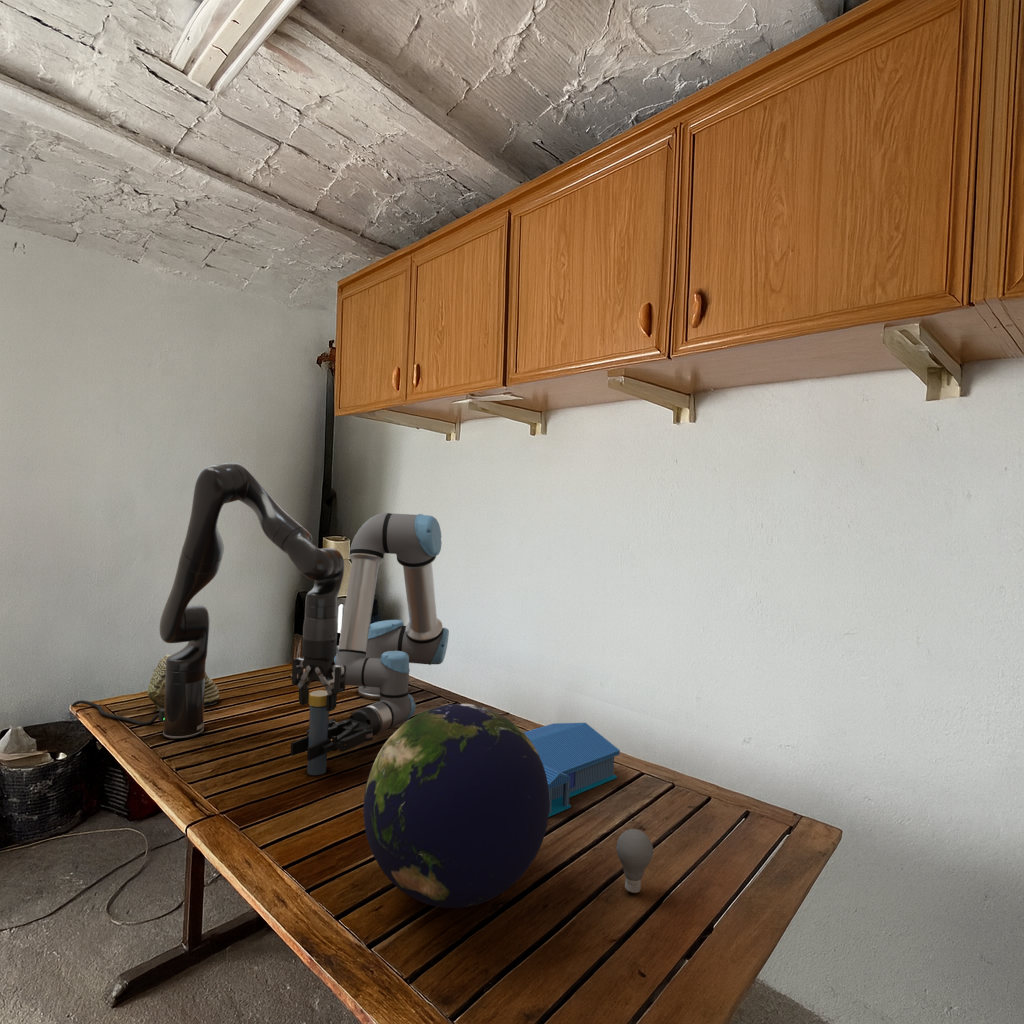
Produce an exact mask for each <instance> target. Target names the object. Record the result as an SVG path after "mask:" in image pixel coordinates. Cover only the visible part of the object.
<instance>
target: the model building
mask: <svg viewBox="0 0 1024 1024" xmlns="http://www.w3.org/2000/svg"><path fill="white" fill-rule="evenodd" d="M523 733H524V734H525V735H526V736H527V737H528V738H529V739H530V741H531V742H532V744H533V745H534V747H535V749H536V750H537V752H538V754H539V756H540V759H541V761H542V764H543V766H544V770H545V773H546V777H547V782H548V788H549V817H552V816H555V815H557V814H559V813H562V812H563V811H566V810H569V809H571V808H572V805H571V804H570V798H572V797H575V796H577V795H580V794H582V793H585V792H587V791H589V790H591V789H594V788H597V787H599V786H601V785H603V784H605V783H609V782H610V781H613V780H615V779H617V778H618V776H617V775H616V774H614V771H615V770H614V768H615V767H614V765H615V757H617V756H620V754H621V750H620V749H619V748H618V747H617V746H616V745H614V744H613V743H612V742H611V741H610V740H607V738H605V737H604V736H603V735H601V734H600V733H599V732H598V731H597V730H596V729H594V728H593V727H592V726H591V725H589V724H588V723H587V722H560V723H559V722H558V723H555V722H554V723H550V724H546V725H544V726H543V725H542V726H540V727H537V728H533V729H530V730H526V731H523ZM549 817H548V818H549Z"/></svg>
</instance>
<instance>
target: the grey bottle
mask: <svg viewBox="0 0 1024 1024" xmlns="http://www.w3.org/2000/svg"><path fill="white" fill-rule="evenodd" d="M308 715H309V717H308V730H309V737H308V747H310V746H313V745H315V744H317V743H320V742H322V741H324V740H327V739H328V724H329V720H330V711H326V706H321V707H315V706H311V705H309V714H308ZM327 769H328V753H325V754H323V755H321V756H319V757H316V758H314V759H312V760H310V761H309V760H307V764H306V773H307V775H310V776H320V775H325V774H326V773H327Z"/></svg>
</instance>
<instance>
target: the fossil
mask: <svg viewBox="0 0 1024 1024" xmlns="http://www.w3.org/2000/svg"><path fill="white" fill-rule="evenodd" d="M171 655H172V654H165V655H164V656H163V657H162V658H161V659H160V660H159V662H158V663H157V666H156V667H155V669H154V670H153V672H152V675H151V677H150V680H149V684H148V688H147V697H148V699H149V700H150V701H152V703H153V704H154V706H155V711H159V709H163V708H164V705H165V674H166V660H167V658H168V657H169V656H171ZM220 698H221V696H220V690H219V688H218V686H217V685H216V683H215V682H214V681H213V679H212V678H211V677H209V675H208V674H207V672H206V671H205V693H204V707H207V706H213V705H215V704H217V703H218V701H219V699H220Z"/></svg>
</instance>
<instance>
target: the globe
mask: <svg viewBox="0 0 1024 1024" xmlns="http://www.w3.org/2000/svg"><path fill="white" fill-rule="evenodd" d="M523 732H524V731H523V730H522V729H521V728H520V727H519V726H517V724H515V723H514V722H513V721H512V720H510V719H509V718H507V717H505V716H504V715H503V714H501V713H498V712H497V711H494V710H493V709H490V708H486V707H484V706H479V705H476V704H472V703H450V704H444V705H440V706H439V705H438V706H436V707H432V708H429V709H427V710H425V711H423V712H420V713H419V714H416V715H415V716H412V717H411V718H410V719H408V720H407V721H405V722H404V723H402V724H401V726H400V727H398V729H396V730H395V731H394V732H393V734H392V735H391V736H390V737H388V739H387V740H386V741H385V742H384V744H383V745H382V747H381V748H380V750H379V752H378V753H377V755H376V758H375V759H374V762H373V764H372V766H371V768H370V771H369V774H368V778H367V781H366V783H365V790H364V797H363V824H364V830H365V835H366V839H367V842H368V845H369V848H370V851H371V854H372V856H373V858H374V859H375V861H376V863H377V864H378V867H379V868H380V869H381V871H382V872H383V874H384V875H385V876H386V877H387V878H388V879H389V881H390V882H391V883H392V884H393V885H394V886H395V887H396V888H398V890H400V891H402V893H404V894H406V895H407V896H409V897H411V898H413V899H414V900H415V901H418V902H421V903H423V904H425V905H429V906H433V907H437V908H442V909H443V908H444V909H462V908H470V907H474V906H477V905H480V904H484V903H487V902H489V901H491V900H493V899H495V898H496V897H498V896H500V895H501V894H503V893H505V892H506V891H508V890H509V889H510V888H511V887H512V886H513V885H515V884H516V883H517V882H518V881H519V880H520V879H521V878H522V876H524V874H525V873H526V872H527V870H528V869H529V868H530V866H531V865H532V864H533V862H534V860H535V858H536V857H537V855H538V853H539V851H540V848H541V846H542V844H543V841H544V839H545V835H546V832H547V827H548V823H549V788H548V782H547V777H546V773H545V770H544V766H543V764H542V761H541V759H540V756H539V754H538V752H537V750H536V749H535V747H534V745H533V744H532V742H531V741H530V739H529V738H528V737H527V736H526V735H525V734H524V733H523Z"/></svg>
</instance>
